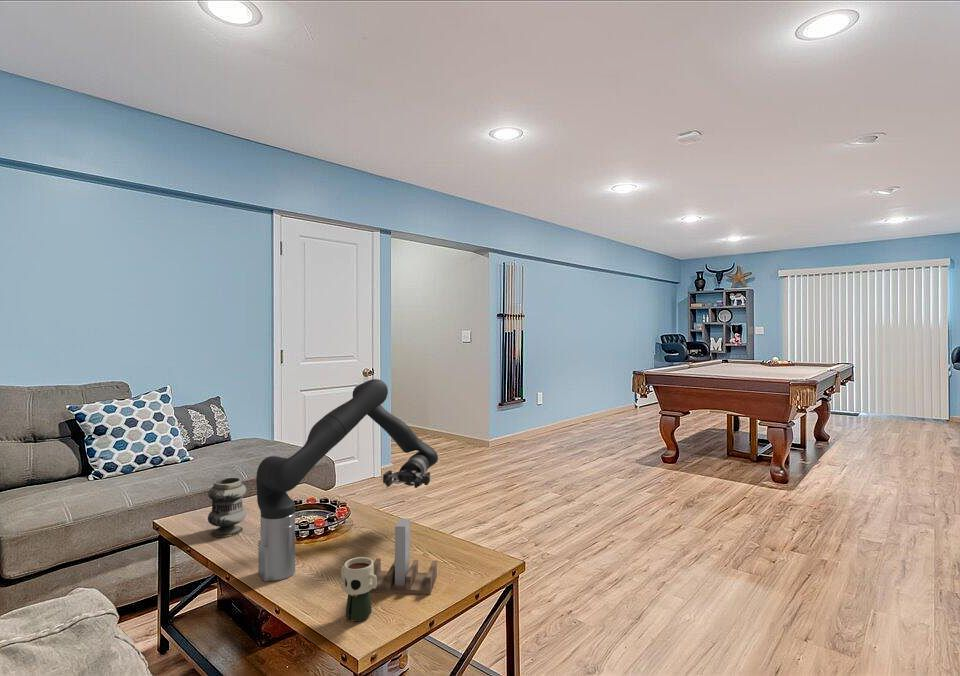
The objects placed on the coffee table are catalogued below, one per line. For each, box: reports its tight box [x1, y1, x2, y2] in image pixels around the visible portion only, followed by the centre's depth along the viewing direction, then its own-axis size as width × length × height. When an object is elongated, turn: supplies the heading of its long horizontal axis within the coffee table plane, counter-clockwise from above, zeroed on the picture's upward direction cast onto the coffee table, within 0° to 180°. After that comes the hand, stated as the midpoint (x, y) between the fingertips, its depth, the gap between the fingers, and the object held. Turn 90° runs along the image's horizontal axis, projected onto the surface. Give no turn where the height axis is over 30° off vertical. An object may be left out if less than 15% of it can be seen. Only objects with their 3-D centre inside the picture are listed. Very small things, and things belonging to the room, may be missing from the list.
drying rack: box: [369, 558, 438, 595], centre depth 144 cm, size 10×17×4 cm, turn 85°
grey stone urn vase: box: [207, 476, 248, 538], centre depth 180 cm, size 12×12×18 cm
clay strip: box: [394, 517, 411, 586], centre depth 143 cm, size 6×3×16 cm, turn 176°
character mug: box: [340, 556, 377, 622], centre depth 127 cm, size 11×7×13 cm, turn 61°
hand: (401, 484), depth 157 cm, fingers open, 8 cm apart
